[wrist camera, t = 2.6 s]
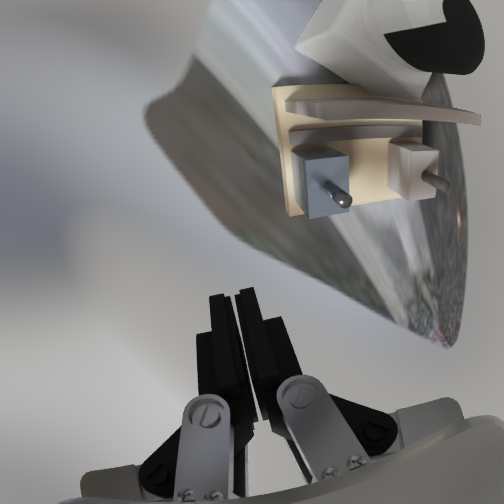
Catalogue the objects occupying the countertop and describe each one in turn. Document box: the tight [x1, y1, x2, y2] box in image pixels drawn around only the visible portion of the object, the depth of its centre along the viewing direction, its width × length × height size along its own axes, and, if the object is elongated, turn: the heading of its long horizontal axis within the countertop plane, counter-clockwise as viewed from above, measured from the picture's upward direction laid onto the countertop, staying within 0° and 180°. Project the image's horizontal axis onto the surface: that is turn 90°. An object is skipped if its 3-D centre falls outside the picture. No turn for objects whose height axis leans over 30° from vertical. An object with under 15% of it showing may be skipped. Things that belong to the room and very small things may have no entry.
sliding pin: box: [291, 147, 353, 219], centre depth 18 cm, size 4×3×6 cm
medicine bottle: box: [294, 0, 485, 100], centre depth 11 cm, size 7×7×12 cm
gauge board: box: [272, 84, 481, 216], centre depth 17 cm, size 10×13×8 cm
